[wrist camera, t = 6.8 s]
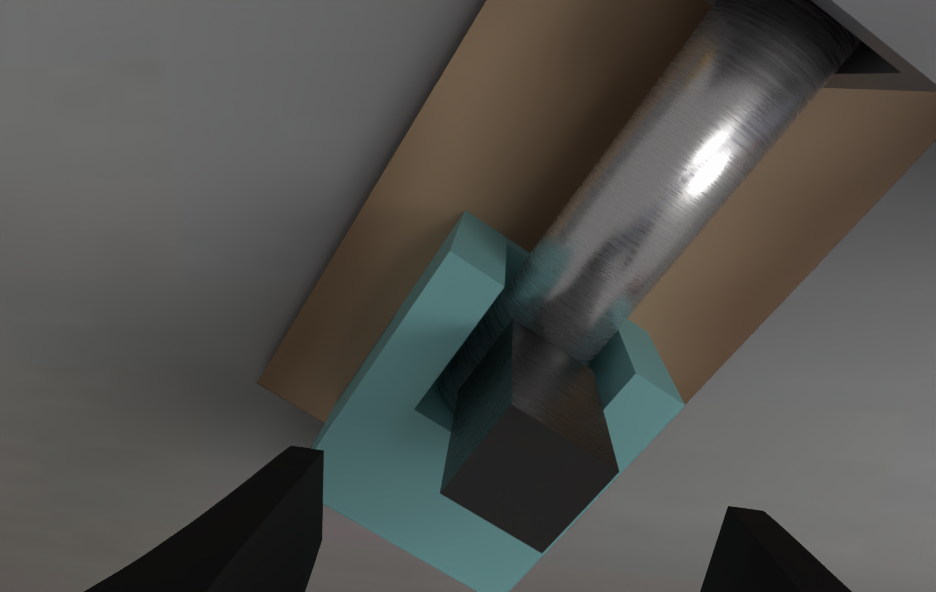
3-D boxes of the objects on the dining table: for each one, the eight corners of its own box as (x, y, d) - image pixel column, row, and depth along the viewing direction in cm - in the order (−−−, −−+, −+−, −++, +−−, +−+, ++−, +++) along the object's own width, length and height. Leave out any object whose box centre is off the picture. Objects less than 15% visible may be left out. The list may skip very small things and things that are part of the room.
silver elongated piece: (872, -17, 14) (1193, -102, 7) (525, 405, 18) (530, 585, 12) (775, -98, 13) (1020, -262, 7) (445, 354, 18) (404, 513, 12)
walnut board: (1416, -406, 12) (1489, -445, 11) (543, 533, 23) (544, 552, 22) (1010, -862, 11) (1057, -951, 10) (268, 369, 21) (256, 383, 20)
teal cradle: (647, 332, 18) (685, 405, 14) (501, 500, 21) (498, 603, 17) (465, 210, 17) (449, 250, 13) (336, 401, 20) (290, 485, 16)
